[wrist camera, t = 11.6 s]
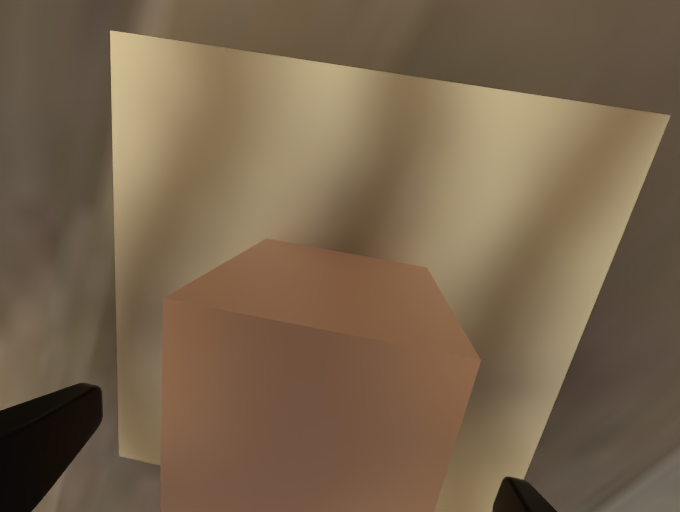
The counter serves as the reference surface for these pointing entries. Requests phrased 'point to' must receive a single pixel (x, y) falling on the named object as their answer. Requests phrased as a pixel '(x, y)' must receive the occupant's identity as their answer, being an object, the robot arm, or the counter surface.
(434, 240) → the post base
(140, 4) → the counter surface
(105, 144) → the counter surface
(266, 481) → the tan cardboard-like cube
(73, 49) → the counter surface
